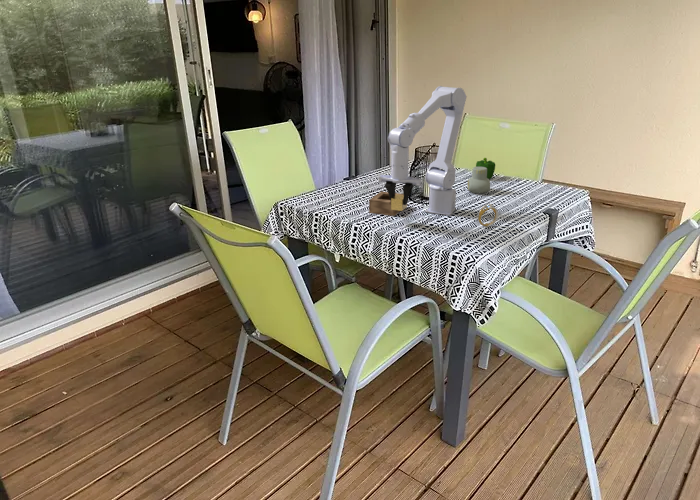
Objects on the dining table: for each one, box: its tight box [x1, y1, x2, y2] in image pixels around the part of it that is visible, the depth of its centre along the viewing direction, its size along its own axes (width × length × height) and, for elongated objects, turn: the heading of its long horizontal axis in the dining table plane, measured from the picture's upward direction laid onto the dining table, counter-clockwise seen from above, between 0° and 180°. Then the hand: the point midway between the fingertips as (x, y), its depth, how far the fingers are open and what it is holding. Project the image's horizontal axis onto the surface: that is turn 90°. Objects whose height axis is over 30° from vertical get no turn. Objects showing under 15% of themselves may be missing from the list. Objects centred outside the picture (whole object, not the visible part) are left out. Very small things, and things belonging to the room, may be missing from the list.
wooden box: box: [368, 191, 404, 217], centre depth 192 cm, size 10×12×5 cm
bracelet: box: [477, 203, 499, 228], centre depth 173 cm, size 7×3×8 cm, turn 99°
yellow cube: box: [391, 194, 408, 212], centre depth 177 cm, size 4×5×4 cm
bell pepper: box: [475, 157, 496, 180], centre depth 229 cm, size 8×8×10 cm
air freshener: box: [467, 166, 491, 194], centre depth 210 cm, size 11×8×10 cm
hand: (399, 203), depth 177 cm, fingers closed on yellow cube, 4 cm apart
